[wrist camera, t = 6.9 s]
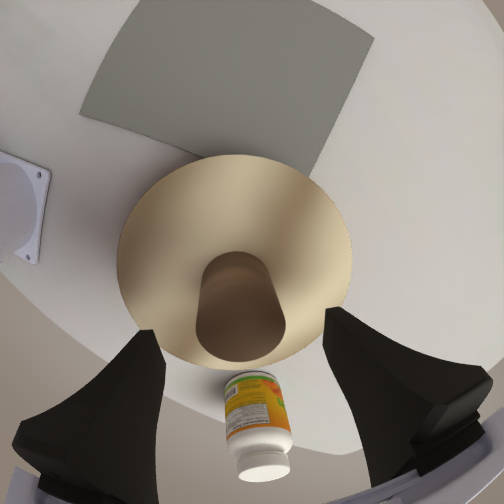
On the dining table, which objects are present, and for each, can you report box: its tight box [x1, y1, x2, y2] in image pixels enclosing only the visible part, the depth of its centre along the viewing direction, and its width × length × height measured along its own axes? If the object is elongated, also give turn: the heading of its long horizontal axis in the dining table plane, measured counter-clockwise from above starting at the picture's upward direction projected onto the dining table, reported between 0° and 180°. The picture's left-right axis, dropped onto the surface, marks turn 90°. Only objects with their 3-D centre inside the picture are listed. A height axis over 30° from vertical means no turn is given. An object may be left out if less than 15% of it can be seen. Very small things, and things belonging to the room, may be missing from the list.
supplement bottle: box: [224, 372, 293, 482], centre depth 20 cm, size 5×5×10 cm
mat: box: [79, 0, 374, 177], centre depth 13 cm, size 16×14×1 cm
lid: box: [116, 155, 352, 370], centre depth 13 cm, size 13×13×5 cm
